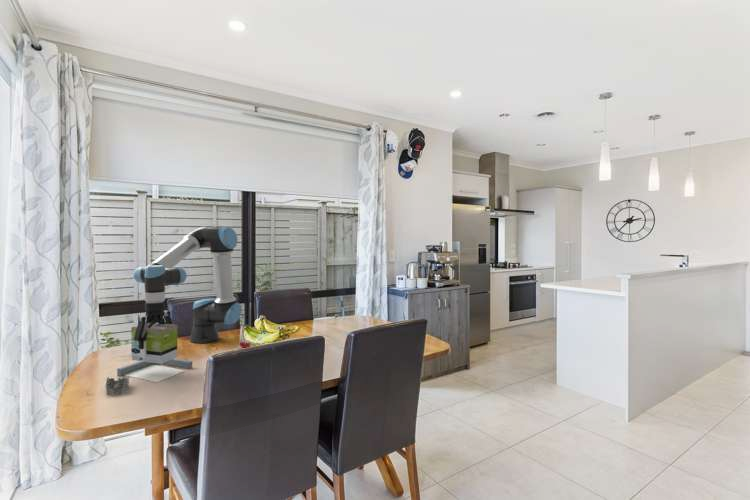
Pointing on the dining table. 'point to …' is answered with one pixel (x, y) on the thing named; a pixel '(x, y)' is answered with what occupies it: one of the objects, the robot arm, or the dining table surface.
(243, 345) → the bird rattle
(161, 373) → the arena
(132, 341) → the tea box
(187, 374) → the dining table surface
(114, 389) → the egg carton
